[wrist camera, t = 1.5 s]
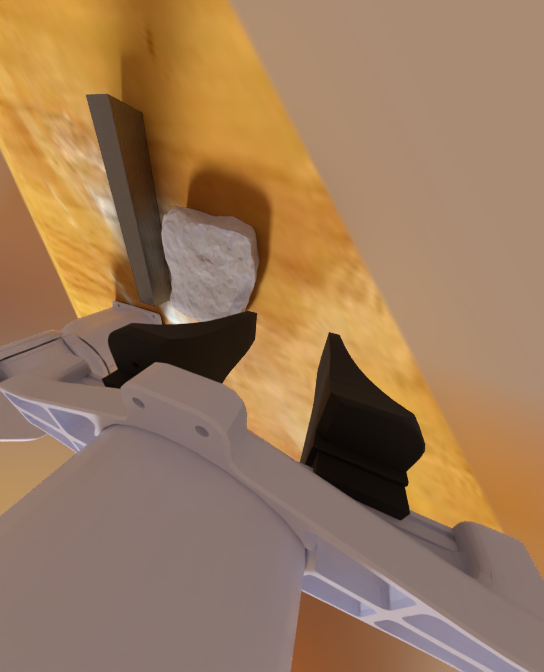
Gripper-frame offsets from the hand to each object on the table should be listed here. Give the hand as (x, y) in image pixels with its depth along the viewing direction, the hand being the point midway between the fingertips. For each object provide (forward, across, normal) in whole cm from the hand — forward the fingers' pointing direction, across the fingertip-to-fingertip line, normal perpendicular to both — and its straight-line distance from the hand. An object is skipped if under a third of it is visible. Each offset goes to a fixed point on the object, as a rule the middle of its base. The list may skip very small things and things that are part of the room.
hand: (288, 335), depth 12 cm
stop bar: (+9, +20, -4) cm, 22 cm away
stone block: (+10, +11, 0) cm, 15 cm away
